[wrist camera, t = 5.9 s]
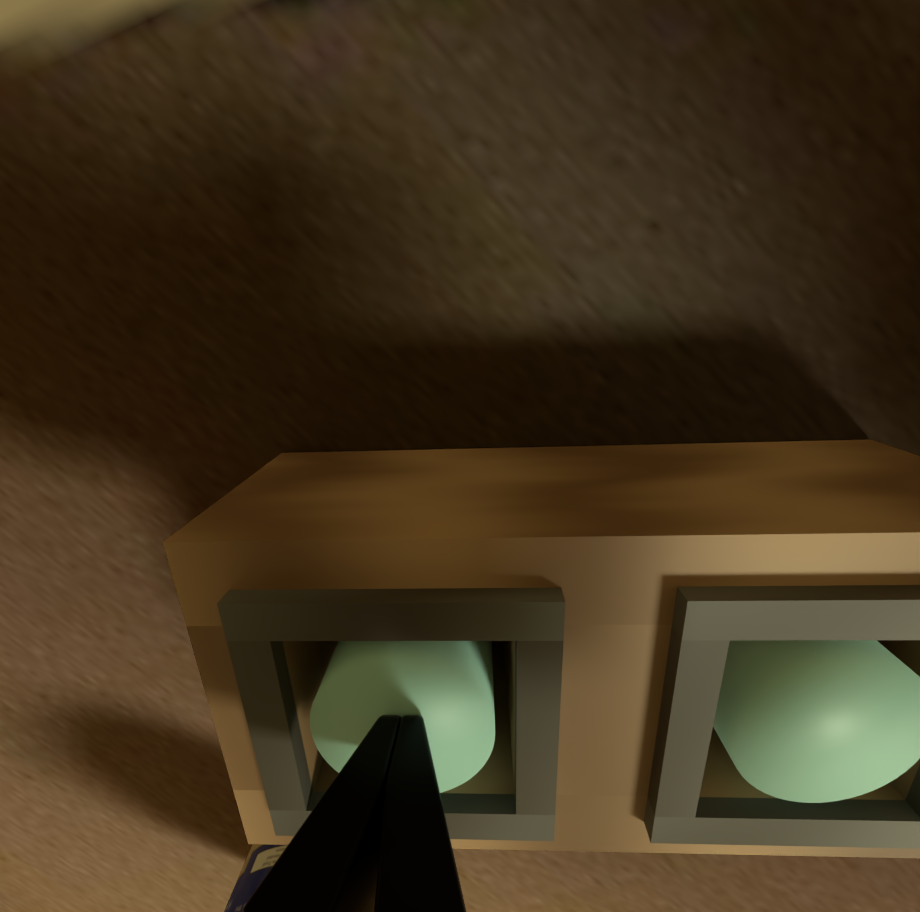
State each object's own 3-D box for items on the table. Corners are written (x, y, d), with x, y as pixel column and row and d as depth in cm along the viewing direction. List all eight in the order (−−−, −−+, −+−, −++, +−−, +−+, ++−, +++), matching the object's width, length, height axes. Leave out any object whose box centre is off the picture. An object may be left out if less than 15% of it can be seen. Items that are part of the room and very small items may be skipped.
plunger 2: (773, 517, 12) (967, 657, 7) (750, 623, 14) (906, 804, 9) (642, 519, 13) (748, 657, 8) (631, 623, 14) (716, 801, 9)
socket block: (871, 439, 12) (1173, 542, 7) (806, 676, 14) (988, 882, 9) (281, 452, 13) (146, 554, 7) (320, 675, 15) (239, 864, 10)
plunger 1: (487, 522, 13) (494, 657, 8) (489, 624, 14) (496, 798, 9) (365, 524, 13) (296, 657, 8) (376, 624, 14) (323, 795, 9)
